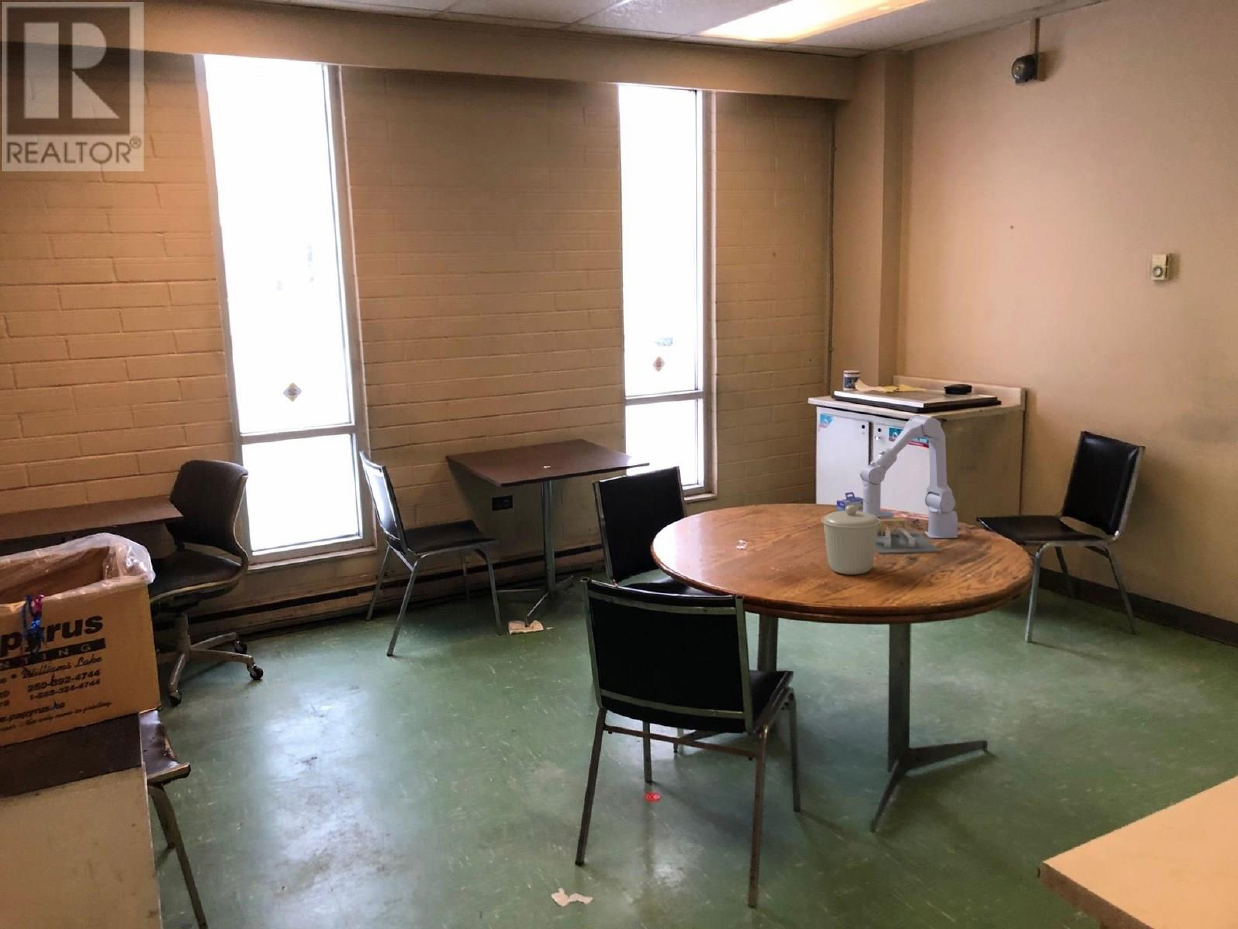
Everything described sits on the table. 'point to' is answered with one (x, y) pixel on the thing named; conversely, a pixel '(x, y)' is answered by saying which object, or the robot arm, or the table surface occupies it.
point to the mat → (901, 547)
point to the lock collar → (890, 523)
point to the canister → (850, 540)
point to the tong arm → (887, 538)
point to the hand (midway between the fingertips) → (871, 538)
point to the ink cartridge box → (850, 502)
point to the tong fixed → (906, 537)
